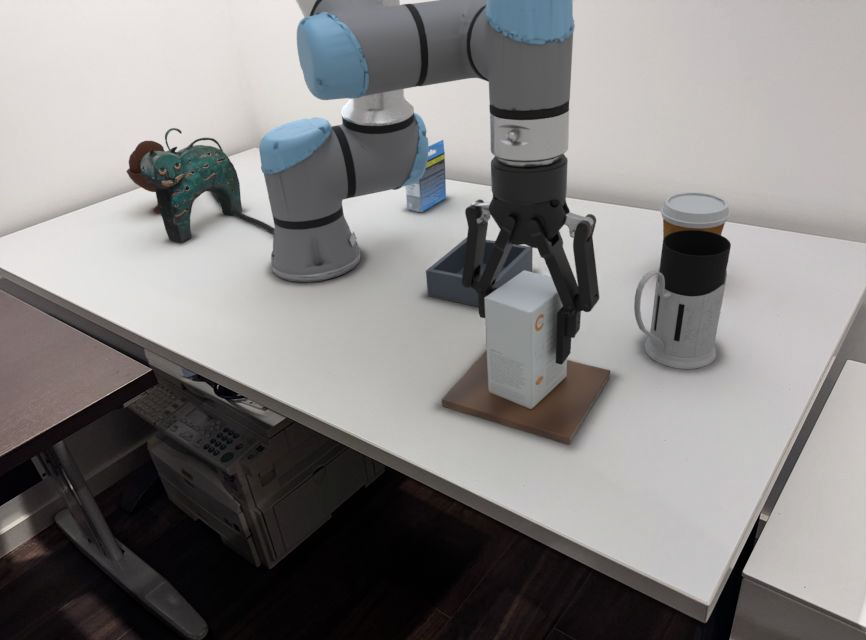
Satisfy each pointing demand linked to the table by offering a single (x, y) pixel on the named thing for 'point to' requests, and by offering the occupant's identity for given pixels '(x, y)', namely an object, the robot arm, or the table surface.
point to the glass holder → (686, 299)
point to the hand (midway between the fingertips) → (527, 349)
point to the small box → (523, 339)
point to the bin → (449, 272)
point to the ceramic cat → (190, 182)
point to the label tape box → (429, 182)
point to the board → (548, 418)
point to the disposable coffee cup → (694, 213)
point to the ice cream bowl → (135, 165)
